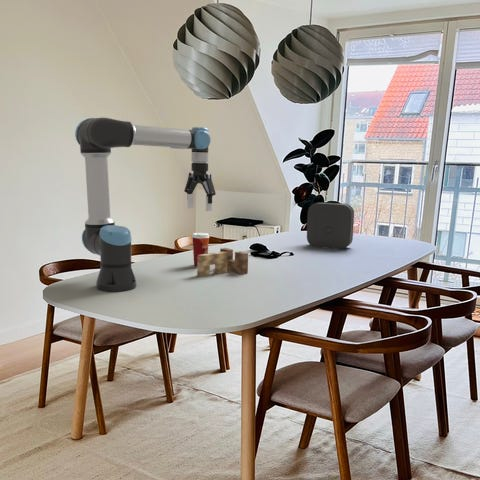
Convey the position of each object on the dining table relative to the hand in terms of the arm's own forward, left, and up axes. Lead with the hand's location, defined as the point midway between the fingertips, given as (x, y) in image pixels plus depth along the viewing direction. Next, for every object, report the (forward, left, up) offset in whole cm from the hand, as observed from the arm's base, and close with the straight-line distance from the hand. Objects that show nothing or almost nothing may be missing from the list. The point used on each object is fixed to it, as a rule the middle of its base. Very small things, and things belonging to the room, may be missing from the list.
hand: (199, 209), depth 245 cm
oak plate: (-4, -16, -27) cm, 31 cm away
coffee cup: (+2, +1, -27) cm, 27 cm away
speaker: (+91, -1, -27) cm, 95 cm away
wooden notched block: (+8, -16, -26) cm, 32 cm away
